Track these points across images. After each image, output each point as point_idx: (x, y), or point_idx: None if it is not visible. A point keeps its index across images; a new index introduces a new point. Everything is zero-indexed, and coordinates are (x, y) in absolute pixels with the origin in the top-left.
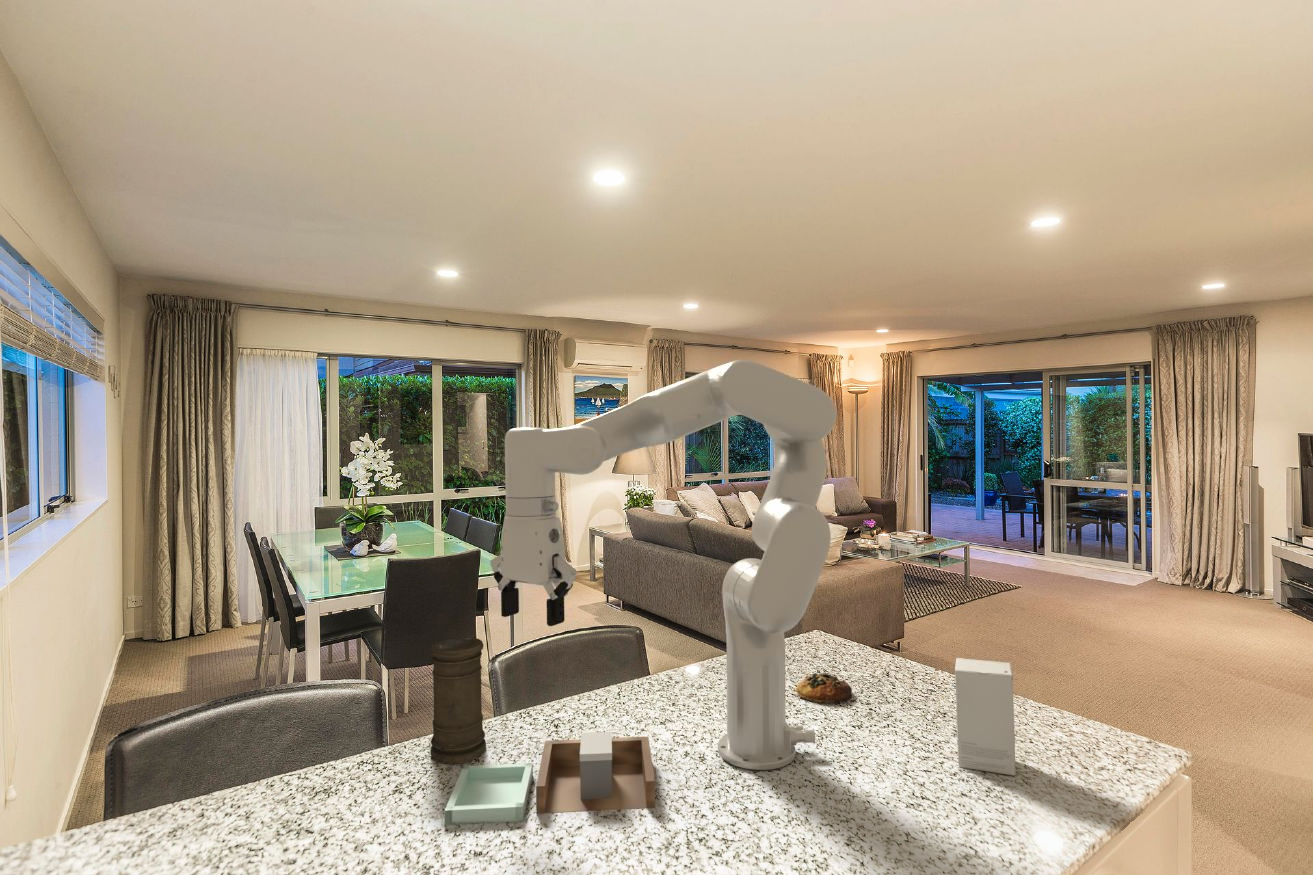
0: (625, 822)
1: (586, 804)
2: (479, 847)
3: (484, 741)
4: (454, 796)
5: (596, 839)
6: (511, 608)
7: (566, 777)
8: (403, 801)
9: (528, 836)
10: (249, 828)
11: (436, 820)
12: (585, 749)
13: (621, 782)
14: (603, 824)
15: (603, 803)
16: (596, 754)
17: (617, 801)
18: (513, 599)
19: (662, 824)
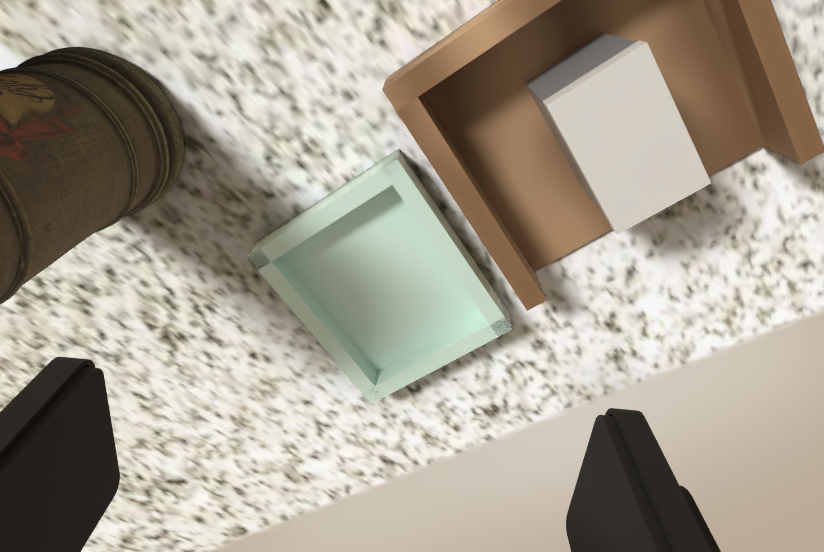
0: (724, 212)
1: None
2: (481, 398)
3: (142, 85)
4: (345, 361)
5: (685, 290)
6: (85, 470)
7: (490, 115)
8: (222, 358)
9: (546, 339)
10: None
11: (341, 375)
12: (618, 200)
13: None
14: (677, 240)
15: None
16: (664, 208)
17: None
18: (34, 510)
19: (815, 180)
